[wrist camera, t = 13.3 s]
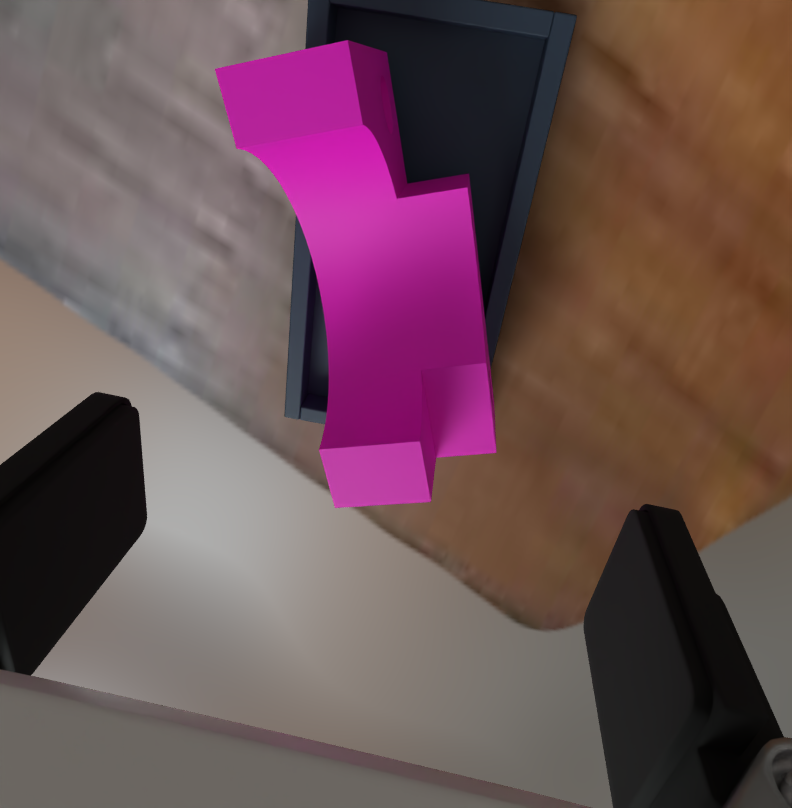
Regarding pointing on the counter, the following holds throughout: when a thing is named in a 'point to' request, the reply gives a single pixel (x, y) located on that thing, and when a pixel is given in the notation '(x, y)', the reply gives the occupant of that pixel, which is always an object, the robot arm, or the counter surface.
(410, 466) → the toy block
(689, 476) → the counter surface
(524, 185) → the rectangular tray
